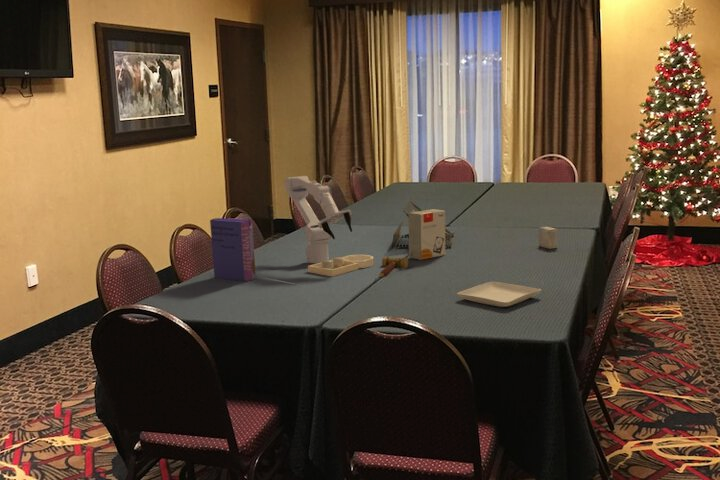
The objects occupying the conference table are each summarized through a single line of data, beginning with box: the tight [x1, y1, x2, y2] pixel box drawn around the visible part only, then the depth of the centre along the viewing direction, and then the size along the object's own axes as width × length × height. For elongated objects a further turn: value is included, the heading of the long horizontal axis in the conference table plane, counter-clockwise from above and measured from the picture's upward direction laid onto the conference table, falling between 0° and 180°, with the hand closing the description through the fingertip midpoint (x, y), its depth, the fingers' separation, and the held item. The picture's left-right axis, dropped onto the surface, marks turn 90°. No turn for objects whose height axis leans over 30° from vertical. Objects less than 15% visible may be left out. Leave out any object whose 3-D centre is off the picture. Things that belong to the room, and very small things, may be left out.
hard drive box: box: [408, 208, 446, 261], centre depth 341 cm, size 16×8×20 cm, turn 129°
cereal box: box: [209, 217, 257, 283], centre depth 313 cm, size 17×5×24 cm, turn 59°
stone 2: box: [332, 256, 344, 269], centre depth 322 cm, size 4×4×4 cm
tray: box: [307, 261, 359, 277], centre depth 320 cm, size 14×15×3 cm
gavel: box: [379, 256, 409, 278], centre depth 317 cm, size 21×5×10 cm
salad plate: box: [456, 281, 542, 308], centre depth 270 cm, size 21×21×3 cm
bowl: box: [342, 254, 375, 269], centre depth 329 cm, size 13×13×4 cm
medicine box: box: [538, 226, 558, 250], centre depth 351 cm, size 8×4×9 cm, turn 22°
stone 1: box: [322, 259, 333, 269], centre depth 317 cm, size 4×4×4 cm
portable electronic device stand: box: [392, 200, 455, 250], centre depth 373 cm, size 33×28×18 cm
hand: (342, 234), depth 317 cm, fingers open, 7 cm apart
